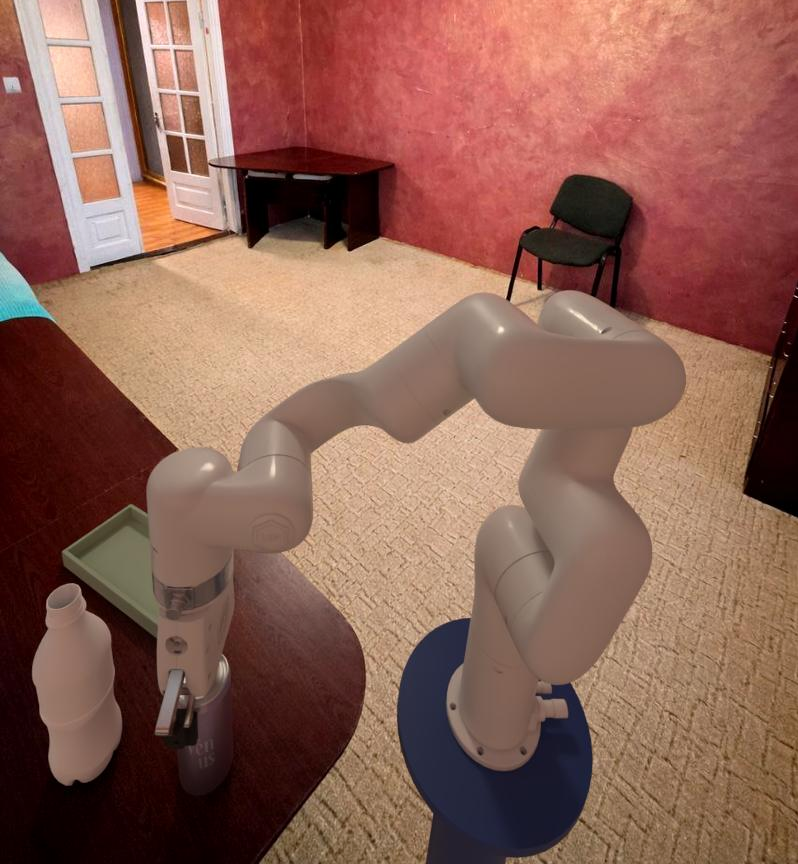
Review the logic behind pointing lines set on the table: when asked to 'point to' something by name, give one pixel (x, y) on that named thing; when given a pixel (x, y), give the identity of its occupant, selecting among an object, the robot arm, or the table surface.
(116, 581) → the tray
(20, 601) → the table surface
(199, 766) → the beverage can
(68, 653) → the water bottle
